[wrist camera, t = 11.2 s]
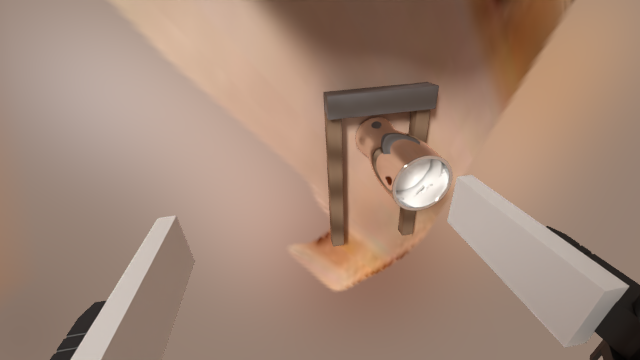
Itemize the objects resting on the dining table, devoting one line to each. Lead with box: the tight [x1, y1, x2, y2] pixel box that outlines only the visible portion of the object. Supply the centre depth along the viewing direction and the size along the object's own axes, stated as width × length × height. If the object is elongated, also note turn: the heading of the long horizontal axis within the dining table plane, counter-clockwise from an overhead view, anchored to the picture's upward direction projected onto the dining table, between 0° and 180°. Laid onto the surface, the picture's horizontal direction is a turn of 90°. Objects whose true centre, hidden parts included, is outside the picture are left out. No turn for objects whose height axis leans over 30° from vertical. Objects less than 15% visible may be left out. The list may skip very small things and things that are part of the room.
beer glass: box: [355, 117, 452, 211], centre depth 34 cm, size 7×7×15 cm
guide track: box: [324, 82, 439, 246], centre depth 42 cm, size 26×15×3 cm, turn 4°
